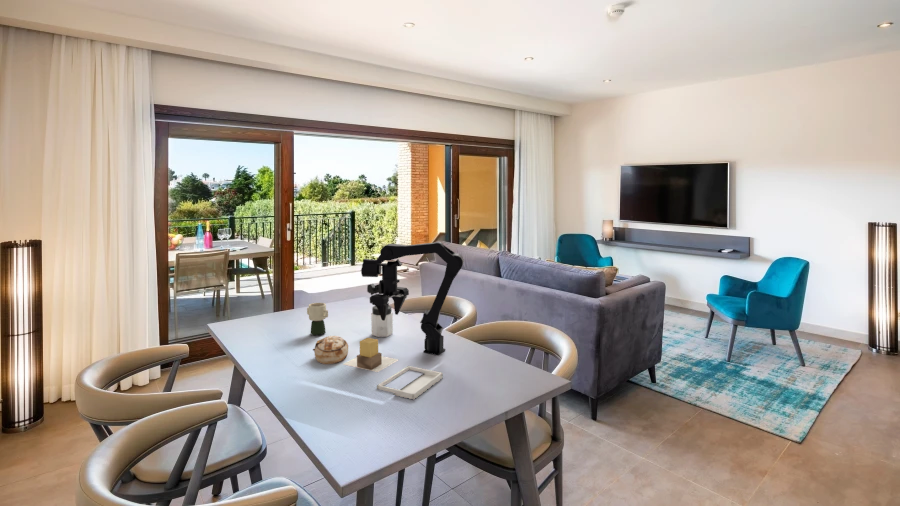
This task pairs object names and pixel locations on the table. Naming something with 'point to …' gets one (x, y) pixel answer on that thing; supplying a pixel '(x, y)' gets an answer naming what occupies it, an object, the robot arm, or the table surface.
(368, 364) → the walnut brick
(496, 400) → the table surface
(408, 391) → the cream rectangular tray
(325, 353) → the trinket box
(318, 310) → the character mug
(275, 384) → the table surface
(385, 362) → the building board
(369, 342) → the ochre brick
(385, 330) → the jar
